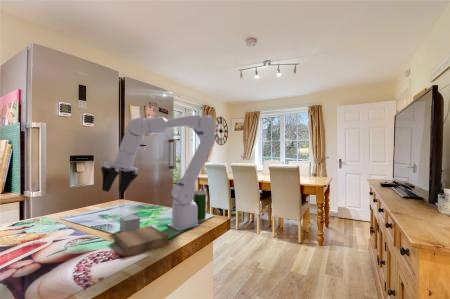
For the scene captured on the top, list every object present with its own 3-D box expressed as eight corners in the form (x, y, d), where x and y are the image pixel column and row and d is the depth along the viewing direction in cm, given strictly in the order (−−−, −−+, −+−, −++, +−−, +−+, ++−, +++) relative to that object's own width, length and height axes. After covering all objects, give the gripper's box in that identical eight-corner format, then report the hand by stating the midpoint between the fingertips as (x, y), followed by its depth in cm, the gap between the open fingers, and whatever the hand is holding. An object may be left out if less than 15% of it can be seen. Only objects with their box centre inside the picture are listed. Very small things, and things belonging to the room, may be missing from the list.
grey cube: (134, 228, 83) (134, 214, 83) (139, 232, 79) (139, 217, 79) (119, 231, 79) (120, 217, 79) (125, 235, 76) (125, 220, 76)
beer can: (196, 222, 90) (196, 193, 90) (190, 218, 95) (191, 190, 95) (207, 220, 93) (208, 191, 93) (201, 216, 98) (202, 189, 98)
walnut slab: (150, 234, 78) (150, 225, 78) (167, 245, 70) (168, 236, 70) (114, 243, 70) (114, 234, 70) (128, 257, 61) (129, 247, 61)
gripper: (131, 153, 84) (119, 188, 82) (102, 144, 70) (86, 186, 68) (147, 158, 82) (134, 194, 80) (120, 150, 68) (104, 193, 66)
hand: (113, 191), depth 74 cm, fingers open, 7 cm apart
